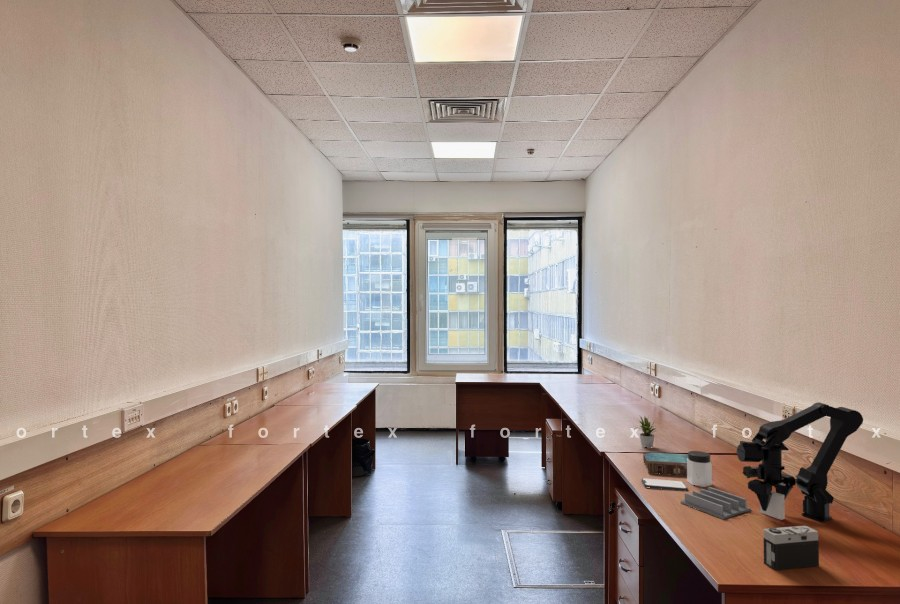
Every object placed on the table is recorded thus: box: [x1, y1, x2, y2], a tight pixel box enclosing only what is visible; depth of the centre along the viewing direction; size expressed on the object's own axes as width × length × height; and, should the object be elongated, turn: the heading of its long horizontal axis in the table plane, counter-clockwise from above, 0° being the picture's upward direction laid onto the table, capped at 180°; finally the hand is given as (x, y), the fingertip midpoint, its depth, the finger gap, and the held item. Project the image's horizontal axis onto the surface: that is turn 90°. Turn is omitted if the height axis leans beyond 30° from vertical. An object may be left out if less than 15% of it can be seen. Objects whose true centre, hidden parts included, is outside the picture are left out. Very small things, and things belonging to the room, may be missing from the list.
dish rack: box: [680, 486, 752, 520], centre depth 179 cm, size 16×16×4 cm
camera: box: [763, 525, 820, 571], centre depth 140 cm, size 14×8×10 cm, turn 99°
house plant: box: [631, 415, 659, 449], centre depth 257 cm, size 14×14×16 cm
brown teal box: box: [642, 451, 688, 477], centre depth 220 cm, size 23×18×5 cm
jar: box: [686, 450, 713, 488], centre depth 203 cm, size 9×8×12 cm
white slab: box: [759, 490, 786, 521], centre depth 171 cm, size 7×2×8 cm, turn 29°
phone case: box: [641, 477, 689, 491], centre depth 200 cm, size 9×2×16 cm
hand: (772, 508), depth 171 cm, fingers open, 9 cm apart
